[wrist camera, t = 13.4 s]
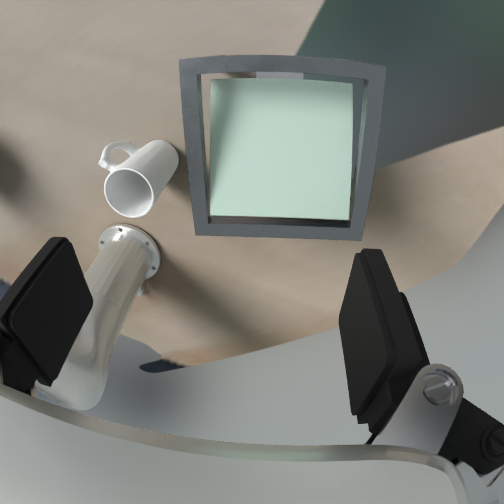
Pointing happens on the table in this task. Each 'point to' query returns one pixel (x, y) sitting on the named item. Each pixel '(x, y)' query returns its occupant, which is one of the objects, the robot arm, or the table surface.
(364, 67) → the stand
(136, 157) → the mug
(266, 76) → the grey cube
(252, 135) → the trapdoor
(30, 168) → the table surface
